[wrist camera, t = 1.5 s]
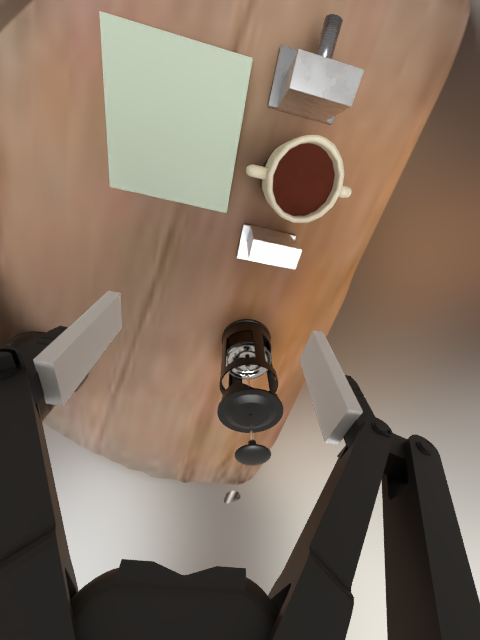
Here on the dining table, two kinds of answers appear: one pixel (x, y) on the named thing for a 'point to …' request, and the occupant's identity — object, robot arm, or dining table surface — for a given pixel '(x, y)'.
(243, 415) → the french press
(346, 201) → the dining table surface
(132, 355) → the dining table surface
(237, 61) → the stand
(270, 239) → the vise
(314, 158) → the character mug
